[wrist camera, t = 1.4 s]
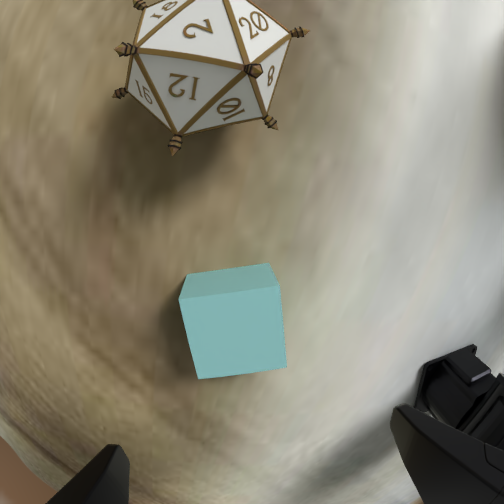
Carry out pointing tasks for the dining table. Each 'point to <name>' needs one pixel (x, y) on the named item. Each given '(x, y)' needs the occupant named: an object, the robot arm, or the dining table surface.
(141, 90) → the game die
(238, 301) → the teal block
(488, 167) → the dining table surface
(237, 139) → the dining table surface
